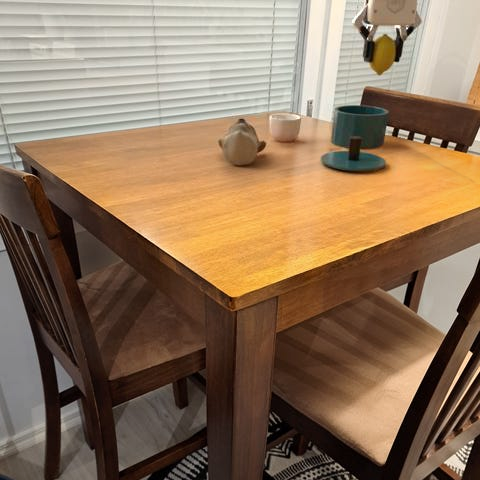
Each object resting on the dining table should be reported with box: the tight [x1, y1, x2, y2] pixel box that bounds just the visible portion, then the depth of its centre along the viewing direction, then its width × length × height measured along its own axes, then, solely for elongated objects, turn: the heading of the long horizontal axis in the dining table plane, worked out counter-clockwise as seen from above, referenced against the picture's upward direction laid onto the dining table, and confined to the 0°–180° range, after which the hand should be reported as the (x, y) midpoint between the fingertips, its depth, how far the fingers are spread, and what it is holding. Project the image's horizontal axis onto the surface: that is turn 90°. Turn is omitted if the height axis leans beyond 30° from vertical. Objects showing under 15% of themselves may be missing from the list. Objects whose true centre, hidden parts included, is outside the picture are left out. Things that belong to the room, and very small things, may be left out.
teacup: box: [268, 113, 302, 143], centre depth 123 cm, size 10×8×5 cm
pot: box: [330, 104, 390, 150], centre depth 120 cm, size 13×13×8 cm
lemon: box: [368, 33, 396, 76], centre depth 107 cm, size 6×6×8 cm
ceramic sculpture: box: [217, 117, 267, 167], centre depth 106 cm, size 11×9×15 cm
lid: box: [320, 136, 387, 172], centre depth 104 cm, size 14×14×6 cm
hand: (381, 60), depth 108 cm, fingers closed on lemon, 5 cm apart
